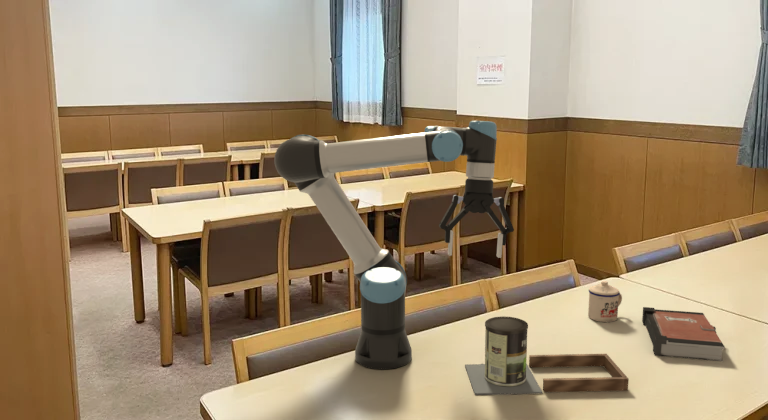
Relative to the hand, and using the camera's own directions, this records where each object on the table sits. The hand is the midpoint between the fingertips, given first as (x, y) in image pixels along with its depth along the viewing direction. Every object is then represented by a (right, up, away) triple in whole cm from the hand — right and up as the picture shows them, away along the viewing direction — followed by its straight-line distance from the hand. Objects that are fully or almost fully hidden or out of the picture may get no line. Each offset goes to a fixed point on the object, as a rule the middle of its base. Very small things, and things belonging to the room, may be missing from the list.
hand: (474, 256), depth 178 cm
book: (+59, -25, +6) cm, 65 cm away
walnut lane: (+22, -29, -17) cm, 40 cm away
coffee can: (+5, -29, -17) cm, 34 cm away
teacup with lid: (+44, -21, +25) cm, 55 cm away
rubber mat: (+4, -29, -17) cm, 34 cm away
